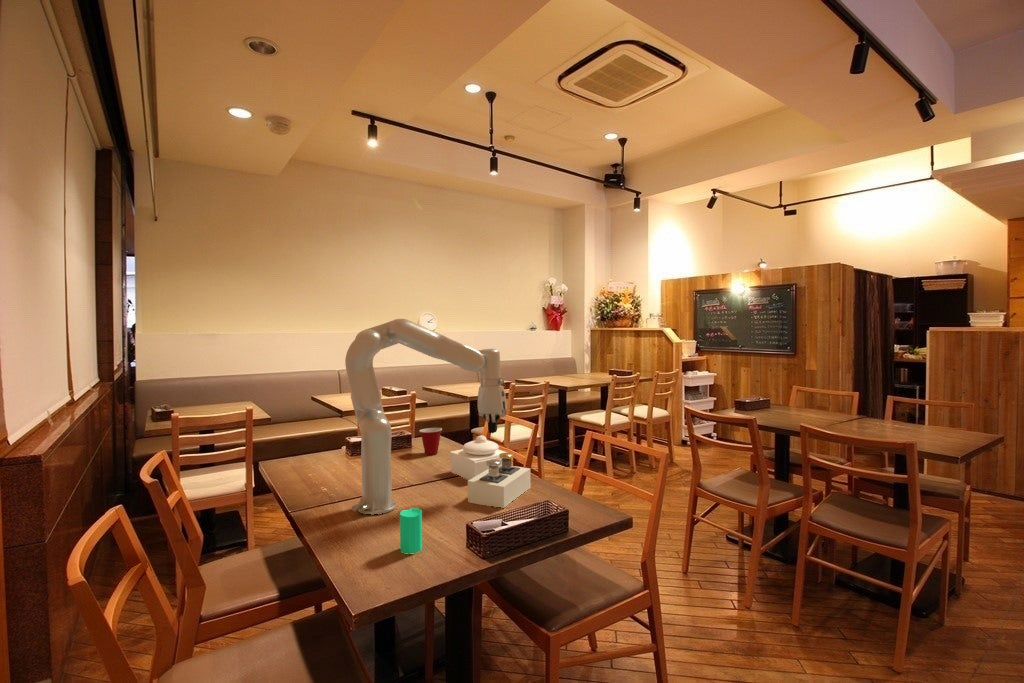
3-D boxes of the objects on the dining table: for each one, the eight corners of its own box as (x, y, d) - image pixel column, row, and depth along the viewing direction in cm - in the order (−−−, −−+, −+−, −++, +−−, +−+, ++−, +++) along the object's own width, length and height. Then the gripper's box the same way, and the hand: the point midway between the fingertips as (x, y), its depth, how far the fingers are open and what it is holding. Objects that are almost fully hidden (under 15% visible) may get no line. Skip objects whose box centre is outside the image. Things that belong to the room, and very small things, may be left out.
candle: (423, 544, 135) (423, 502, 134) (420, 554, 129) (420, 510, 128) (402, 544, 135) (401, 502, 134) (398, 555, 129) (397, 511, 128)
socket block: (503, 508, 160) (503, 485, 160) (467, 502, 166) (467, 479, 166) (530, 488, 180) (530, 467, 180) (497, 483, 186) (497, 462, 186)
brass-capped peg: (509, 479, 174) (509, 457, 174) (497, 477, 176) (496, 455, 176) (515, 474, 179) (515, 453, 178) (503, 473, 181) (503, 452, 181)
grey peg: (496, 487, 165) (496, 464, 165) (483, 485, 167) (483, 462, 167) (503, 483, 170) (503, 460, 169) (490, 480, 172) (490, 458, 172)
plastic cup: (435, 449, 236) (434, 425, 235) (446, 454, 228) (446, 429, 227) (415, 453, 229) (414, 428, 228) (426, 458, 221) (426, 432, 220)
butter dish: (474, 483, 186) (474, 443, 185) (449, 472, 200) (449, 434, 199) (510, 474, 197) (509, 436, 197) (484, 464, 211) (483, 428, 210)
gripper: (513, 381, 175) (515, 431, 176) (477, 380, 182) (480, 428, 183) (504, 384, 169) (506, 436, 170) (467, 383, 175) (470, 433, 176)
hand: (492, 432), depth 176 cm, fingers closed
